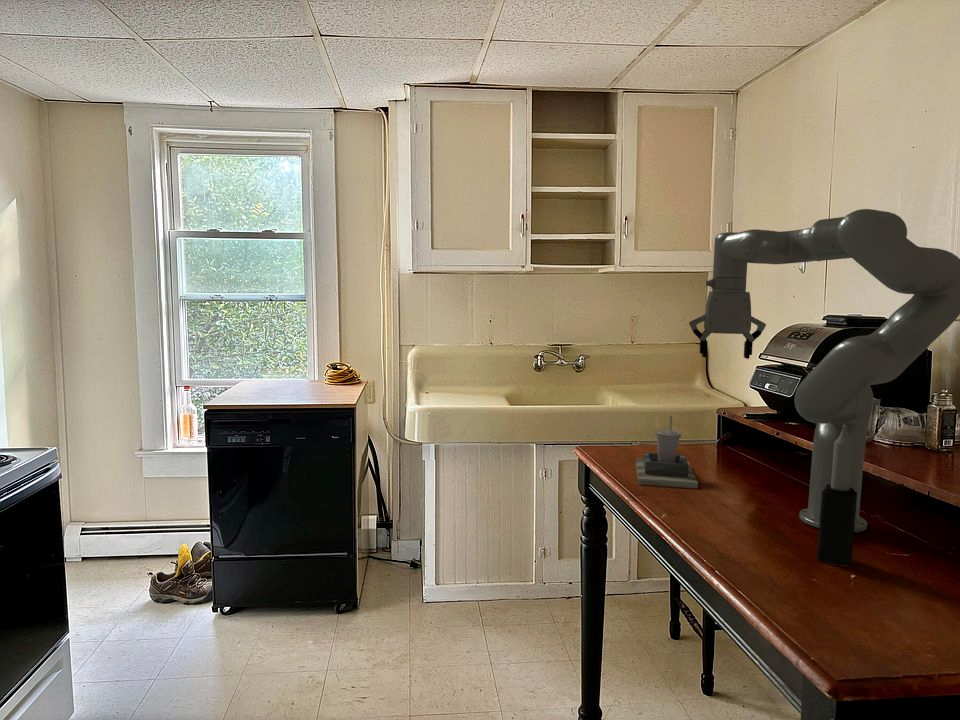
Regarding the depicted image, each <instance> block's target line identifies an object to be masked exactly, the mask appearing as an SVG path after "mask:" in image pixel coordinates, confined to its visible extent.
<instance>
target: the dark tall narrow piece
mask: <svg viewBox="0 0 960 720" xmlns="http://www.w3.org/2000/svg"><path fill="white" fill-rule="evenodd" d="M842 427H843V429H842V432H841V434H840V436H839V438H838V439H837V440H836V441H835V443H834V454H833V467H832V479H831V484H829V485H827V486H826V488H825V489H824V490H823V491H822V500H821V512H820V525H819V528H818V529H819V530H818V538H817V539H818V540H817V542H818V543H817V550H816V551H817V553H816V560H817V559H818V561H819V560H820V561H819V562H821V561H825V562H829V563H833V564H838V565H848V566H849V564H850V562H851V561H850V560H852V559H853V549H854V547H853V546H854V535H855V533H854V526H855V514H856V502H857V492H856V491H855V490H854V489H853V488H851V487H850V475H851V463H852V451H853V444H852V442H851V440H850V439H849V435H848V431H847V428H848V426H847V425H843V426H842ZM849 561H850V562H849ZM852 561H853V560H852ZM825 562H824V563H825ZM829 563H828V564H829Z"/></svg>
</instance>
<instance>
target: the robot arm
mask: <svg viewBox="0 0 960 720" xmlns="http://www.w3.org/2000/svg"><path fill="white" fill-rule="evenodd" d="M907 237H908V228H907V225H906V223H905V221H904V219H902V217H901V216H899V215H897V214H896V213H894V212H890V211H886V210H878V209H870V208H862V209H856V210H854V211H851V212H850V213H848V214H846V215H845V216H839V217H831V218H825V219H819V220H817V221H815V222H814V224H813V225H812V226H811V227H808V228H803V229H801V228H800V229H796V230H795V229H794V230H786V231H784V230H783V231H776V230H768V229H757V228H756V229H747V230H744V231H739V232H735V231H734V232H732V231H731V232H721V233H718V234H717V235H715V238H714V246H713V249H714V250H713V268H712V279H709V280H705V286H706V287H710V288H711V289H712V290H711V291H708V295H707V301H706V304H705V305H706V306H705V310H704V311H705V312H704V313H705V314H704V315H701V316H699V317H696V318H694V319H692V320H690V321H689V322H688V324H689V327H690V328H691V331H692V334H694V335H695V336H696V337H697V338H698V339H699V354H701V357H702V358H707V357H708V340H707V338H709V336H710V335H711V334H725V335H727V334H729V335H742V336H743V337H744V338H745V341H743V342H744V344H743V358H745V359H747V360H749V359H750V356H752V355H753V346H754V345H753V344H754V343H753V342H755V340H757V339H758V338H759V337H760V336H761V335H762V333H763V331H764V330H765V328H766V326H767V324H766V323H765V322H764V321H761V320H759V319H758V318H756V317H754V316H752V302H751V293H750V291H747V277H748V276H747V274H748V264H759V265H760V264H763V265H765V264H766V265H786V264H787V265H788V264H798V263H800V264H801V263H809V262H822V261H833V260H843V259H844V260H846V259H853V261H855V262H856V263H857V264H858V265H859V266H861V267H862V268H863V269H864V270H866V271H867V272H868V273H869V274H870V275H871V276H872V277H874V278H875V279H876V280H877V281H879V282H880V284H882V285H883V286H884V287H886V288H887V289H889V290H892V291H893V292H896V293H898V294H903V295H912V297H911V298H910V299H908V301H906V302H905V303H904V304H903V305H901V306H900V307H898V308H897V309H896V310H895V311H893V312H892V314H890V316H889V317H887V319H886V320H885V321H884V322H883V323H882V324H881V325H880V326H879V327H878V328H877V329H876V330H874V332H872V333H871V334H867V335H858V336H852V337H849V338H846V339H845V340H843V341H841V342H840V343H838V344H836V346H835V345H834V347H833V348H832V349H831V350H830V351H829V352H828V353H827V354H826V355H825V356H824V357H823V359H822V360H820V362H819V363H818V364H816V365H815V367H814V368H813V369H812V370H811V371H810V372H809V373H807V375H806V376H805V377H804V378H803V380H802V381H801V382H800V383H799V384H798V387H797V389H796V391H795V394H794V406H795V410H796V411H797V413H798V415H799V416H800V417H801V418H803V419H804V420H805V421H807V422H810V423H813V424H816V427H815V430H814V434H813V442H812V453H811V467H810V477H809V479H810V480H809V493H808V505H807V507H806V508H804V509H801V510H800V511H799V515H798V516H799V520H801V521H802V522H803V523H805V524H807V525H809V526H811V527H814V528H817V529H819V525H820V512H821V500H822V491H823V490H824V489H825V488H826V486H827V485H829V484H831V479H832V467H833V454H834V443H835V441H836V440H837V439H838V438H839V436H840V434H841V432H842V429H843V427H842V426H843V425H847V426H848V428H847V431H848V435H849V439H850V440H851V442H852V444H853V451H852V463H851V475H850V487H851V488H853V489H854V490H855V491H856V492H857V502H856V514H855V526H854V534H855V533H861V532H863V531H865V530H867V527H868V522H867V521H866V519H864V518H863V517H862V516H860V508H861V507H860V506H861V497H862V496H861V495H862V483H863V474H864V473H863V472H864V471H863V470H864V464H865V463H864V461H865V453H866V445H867V443H866V442H867V435H868V429H869V423H870V419H871V416H872V412H873V407H874V401H875V400H874V392H873V389H872V387H871V386H873V385H880V384H881V385H882V384H887V383H890V382H892V381H893V380H895V379H897V378H898V377H899V376H900V375H901V374H902V373H904V372H905V370H906V369H907V368H908V367H909V366H910V365H911V364H912V363H913V362H914V361H915V360H916V359H918V358H919V357H920V355H922V354H923V353H924V352H925V351H926V350H927V349H928V348H929V346H931V345H932V343H934V342H935V341H936V340H937V339H938V337H940V336H941V335H942V334H943V333H945V331H946V330H948V328H949V327H950V326H952V324H954V322H955V321H956V320H957V319H958V317H959V316H960V257H958V255H956V254H955V253H953V252H950V251H948V250H945V249H941V248H934V247H923V246H918V245H916V244H915V242H912V241H911V240H910V239H908V238H907ZM703 322H704V323H703ZM701 323H703V326H704V329H703V331H702V332H701V331H700V330H699V328H698V327H697V325H698V324H699V325H700V324H701ZM752 324H754V325H756V330H755V331H754V332H752V333H751V330H752Z"/></svg>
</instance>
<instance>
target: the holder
mask: <svg viewBox="0 0 960 720" xmlns="http://www.w3.org/2000/svg"><path fill="white" fill-rule="evenodd" d="M635 469H636V470H635V471H636V476H637V483H638V485H643V486H654V487H655V486H656V487H671V488H683V489H684V488H685V489H696V490H697V489H698V488H699V487H698V486H699V482H698V479H697V478H696V475H695V473H694V471H693V469H692V467H691V464H690V462H689V461H687V459H686V456H685V454H678V453H676V459H675V463H669V462H658V452H648V451H647V452H645V451H644V452H643V458H640V457H639V458H635Z"/></svg>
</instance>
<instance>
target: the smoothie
mask: <svg viewBox="0 0 960 720" xmlns="http://www.w3.org/2000/svg"><path fill="white" fill-rule="evenodd" d="M672 427H673V416H672V415H670V416H669V428H668V429H658V430H656V431H655V434H654V435H655V437H656V451H657V453H658V462H669V463H675V459H676V454H678V447H679V442H680V439H681V435H682V433H681V432H680V431H677V430H672Z"/></svg>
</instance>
